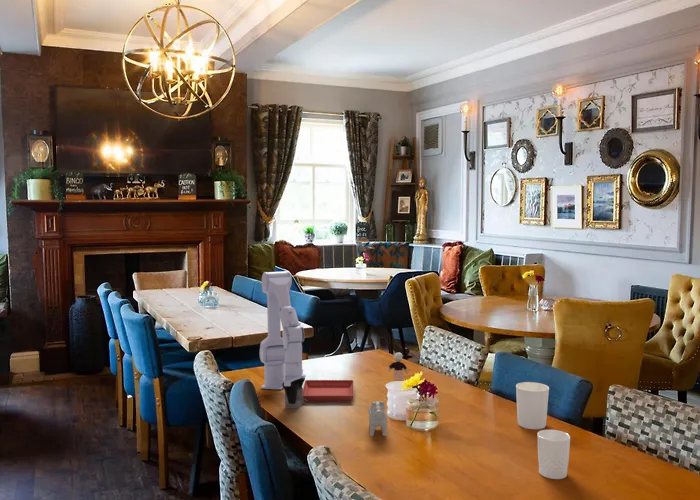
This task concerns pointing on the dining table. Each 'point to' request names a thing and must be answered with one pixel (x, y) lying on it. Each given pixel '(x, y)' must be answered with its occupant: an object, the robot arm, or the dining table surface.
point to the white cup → (553, 453)
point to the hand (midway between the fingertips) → (294, 401)
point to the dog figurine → (377, 417)
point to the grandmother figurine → (398, 367)
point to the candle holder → (532, 404)
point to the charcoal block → (298, 399)
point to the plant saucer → (328, 390)
